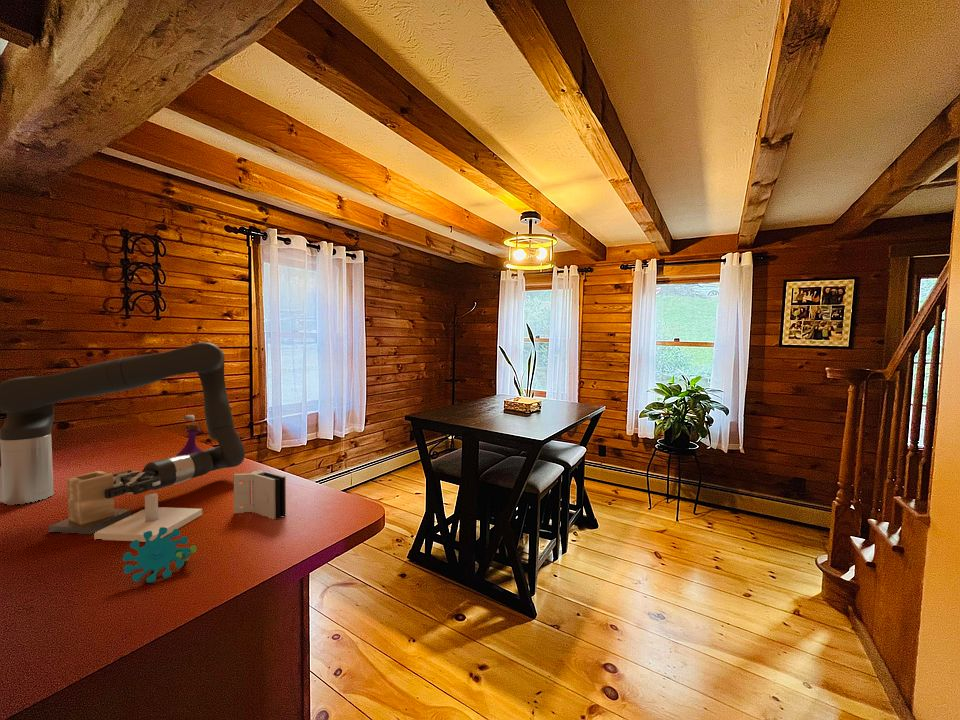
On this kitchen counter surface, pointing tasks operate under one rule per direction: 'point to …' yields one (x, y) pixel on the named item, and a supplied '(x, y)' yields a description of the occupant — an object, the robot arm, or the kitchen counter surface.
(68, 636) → the kitchen counter surface
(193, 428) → the perfume bottle
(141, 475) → the robot arm
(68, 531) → the stand
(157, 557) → the gear
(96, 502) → the sleeve
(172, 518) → the board
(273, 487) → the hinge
